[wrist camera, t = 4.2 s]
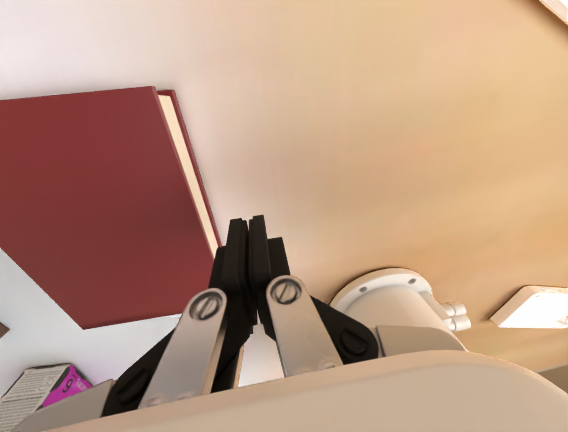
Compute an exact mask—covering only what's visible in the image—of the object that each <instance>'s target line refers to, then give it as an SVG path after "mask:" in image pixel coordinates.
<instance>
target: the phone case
mask: <svg viewBox="0 0 568 432" xmlns="http://www.w3.org/2000/svg"><path fill="white" fill-rule="evenodd" d="M542 290H543V291H542ZM567 316H568V288H559V287H544V286H525V287H523V288H522V289H521V290H520V291H518V292H517V293H516V294H515V295H514V296H513V297H512V298H511V299H510V300H509V301H508V302H507V303H506V304H505V305H504V306H503V307H502V308H500V309H499V310H498V311H497V312H496V313H495V314H494V315H493V316H492V317H491V318H490V319H491V320H492V321H493V322H494V323H495V324H496V325H497V326H499V327H501V328H566V327H568V319H567V318H566V317H567Z"/></svg>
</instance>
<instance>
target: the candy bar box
mask: <svg viewBox="0 0 568 432" xmlns="http://www.w3.org/2000/svg"><path fill="white" fill-rule="evenodd" d="M91 387H93V386H92V385H91V384H90V383H89V382H88V381H87V380H86V379H85V378H84V377H83V376H82V375H81V374H80V373H79V372H78V371H77V370H76V369H75V368H74V367H73V365H72V364H59V365H53V366H46V367H38V368H30V369H26V370H25V371H24V372H23V373H22V374H21V375H20V377H19V378H18V379H17V380H16V381H15V382H14V384H13V385H12V386H11V387H10V388H9V389H8V391H7V392H6V393H5V394H4V395H3V396H2V397H1V399H0V432H10V431H11V430H12V429H13V428H14V427H15V426H16V425H17V424H18V423H20V422H21V421H22V420H23V419H24V418H26V417H27V416H28V415H30V414H32V413H34V412H35V411H37V410H39V409H41V408H43V407H46V406H48V405H51V404H53V403H55V402H58V401H60V400H62V399H65V398H67V397H69V396H72V395H74V394H76V393H79V392H81V391H84V390H86V389H88V388H91Z"/></svg>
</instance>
